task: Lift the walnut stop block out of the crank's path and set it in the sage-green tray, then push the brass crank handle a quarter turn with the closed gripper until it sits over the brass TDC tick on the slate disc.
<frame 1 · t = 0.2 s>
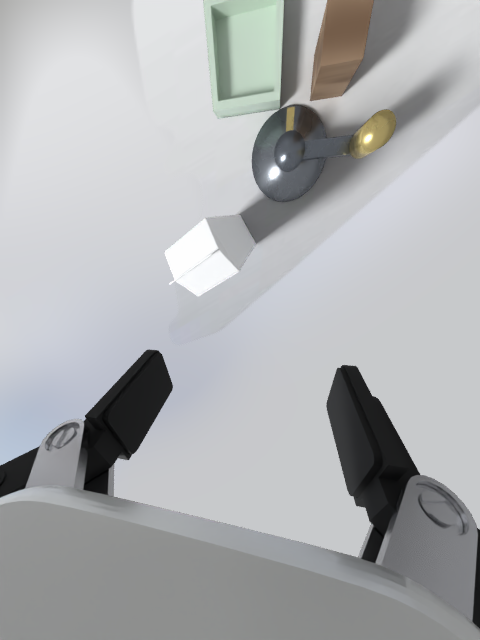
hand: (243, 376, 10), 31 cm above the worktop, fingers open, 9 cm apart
crank: (325, 143, 22), point 6 cm above the worktop, hinge at 0.0°
stop block: (328, 75, 23), on the worktop
milk: (235, 238, 35), on the worktop
tray: (246, 64, 24), on the worktop
crank base: (287, 158, 28), on the worktop
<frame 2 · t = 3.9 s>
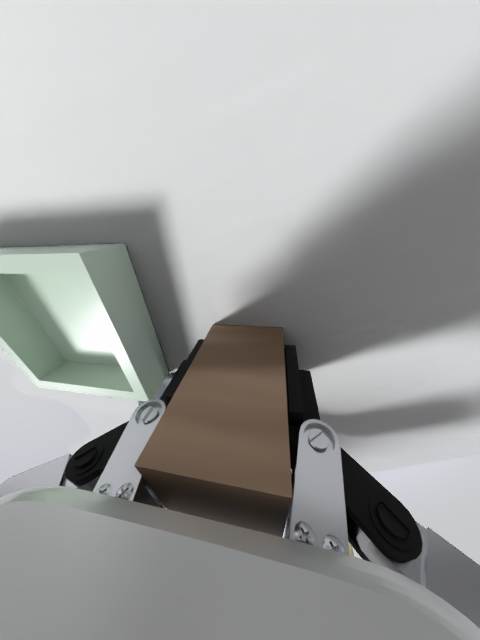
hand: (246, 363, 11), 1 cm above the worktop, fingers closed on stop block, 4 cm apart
crank: (234, 524, 11), point 6 cm above the worktop, hinge at 0.0°
stop block: (247, 353, 11), on the worktop, touching gripper
tray: (90, 317, 12), on the worktop
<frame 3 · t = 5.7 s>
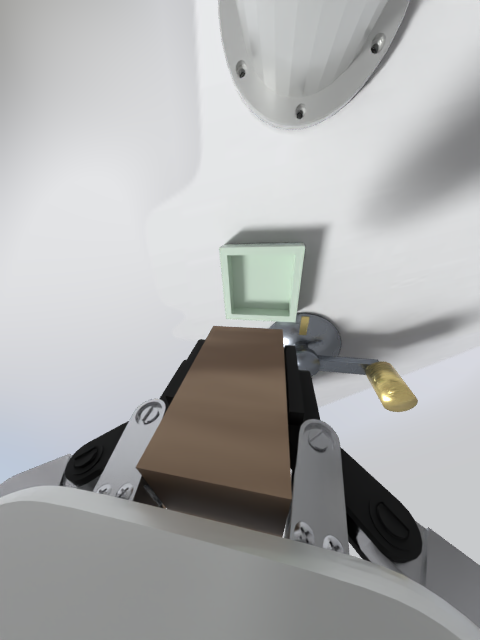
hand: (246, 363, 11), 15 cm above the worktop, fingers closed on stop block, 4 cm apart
crank: (342, 377, 22), point 6 cm above the worktop, hinge at 0.0°
stop block: (247, 354, 11), point 14 cm above the worktop, touching gripper
tray: (261, 280, 23), on the worktop
crank base: (300, 345, 28), on the worktop
when the fingers open (3 cm above the worktop, at t = 7.8 s): stop block drops 1 cm, resting on tray.
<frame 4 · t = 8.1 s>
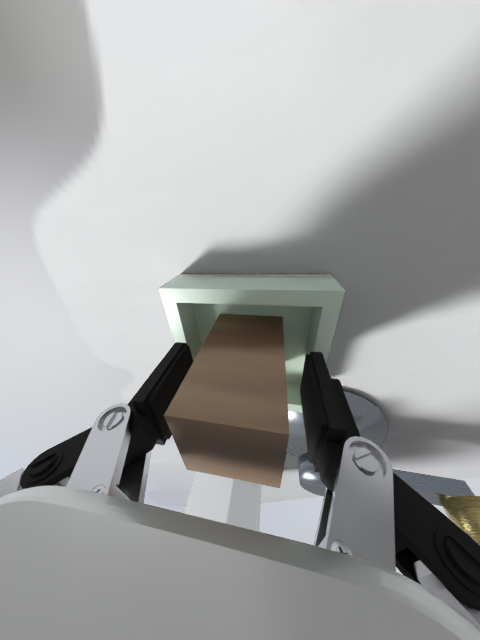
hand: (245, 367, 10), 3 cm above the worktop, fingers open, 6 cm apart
crank: (404, 526, 12), point 6 cm above the worktop, hinge at 0.0°
stop block: (250, 340, 13), point 1 cm above the worktop, touching tray
milk: (232, 461, 24), on the worktop
tray: (251, 335, 13), on the worktop
crank base: (316, 426, 17), on the worktop
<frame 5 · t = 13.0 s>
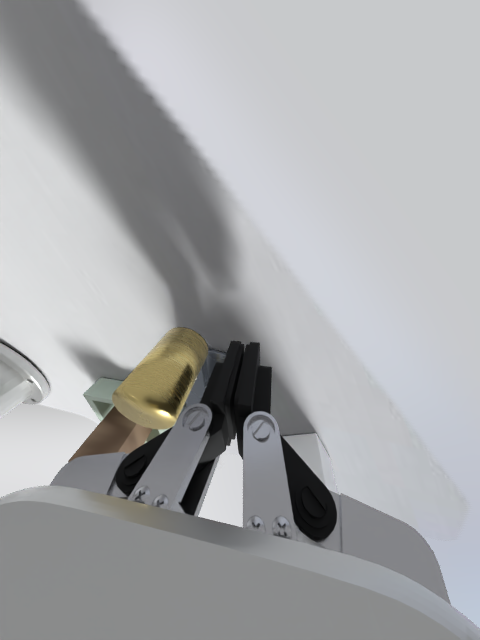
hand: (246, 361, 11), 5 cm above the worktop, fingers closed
crank: (184, 414, 13), point 6 cm above the worktop, hinge at 0.0°, touching gripper
stop block: (139, 409, 24), point 1 cm above the worktop, touching tray
milk: (299, 446, 23), on the worktop
tray: (143, 405, 24), on the worktop
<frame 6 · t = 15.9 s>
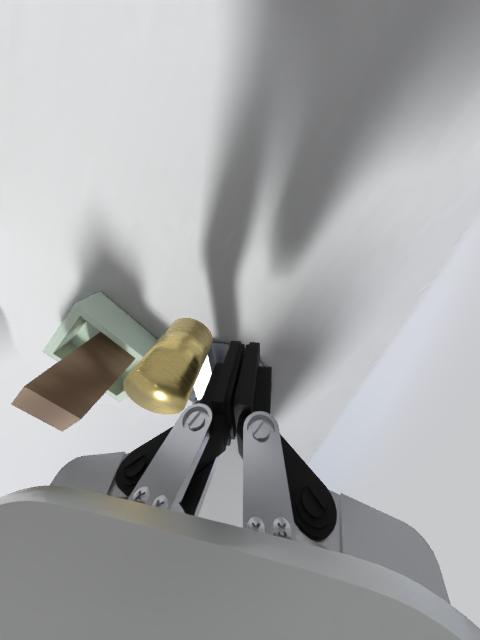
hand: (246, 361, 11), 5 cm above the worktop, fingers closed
crank: (195, 404, 13), point 6 cm above the worktop, hinge at 53.4°, touching gripper
stop block: (115, 348, 19), point 1 cm above the worktop, touching tray
milk: (228, 443, 28), on the worktop
tray: (119, 345, 20), on the worktop
crank base: (221, 381, 20), on the worktop
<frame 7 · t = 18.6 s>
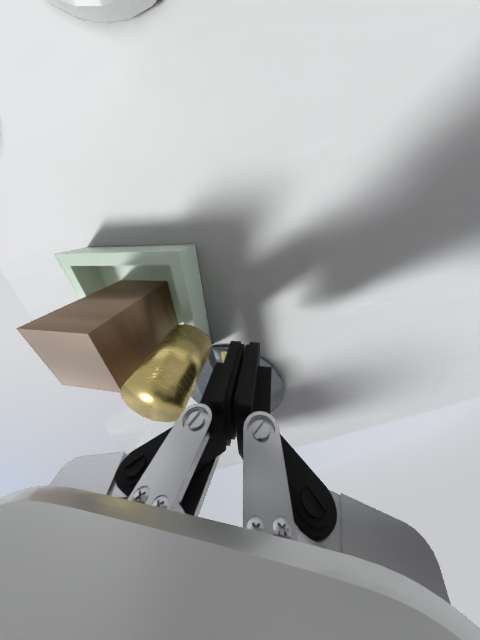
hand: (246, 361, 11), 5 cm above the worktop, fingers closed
crank: (202, 410, 13), point 6 cm above the worktop, hinge at 98.5°, touching gripper
stop block: (151, 303, 15), point 1 cm above the worktop, touching tray
milk: (178, 427, 27), on the worktop
tray: (155, 301, 16), on the worktop
crank base: (231, 385, 20), on the worktop
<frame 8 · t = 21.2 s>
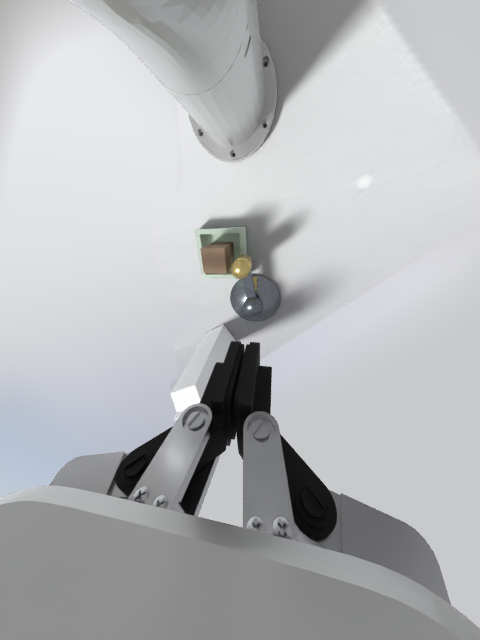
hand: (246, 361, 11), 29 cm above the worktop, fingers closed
crank: (247, 291, 34), point 6 cm above the worktop, hinge at 99.3°
stop block: (223, 253, 36), point 1 cm above the worktop, touching tray
milk: (221, 336, 48), on the worktop
tray: (224, 252, 36), on the worktop
crank base: (254, 299, 40), on the worktop
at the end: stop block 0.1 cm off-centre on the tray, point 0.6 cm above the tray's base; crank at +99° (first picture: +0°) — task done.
